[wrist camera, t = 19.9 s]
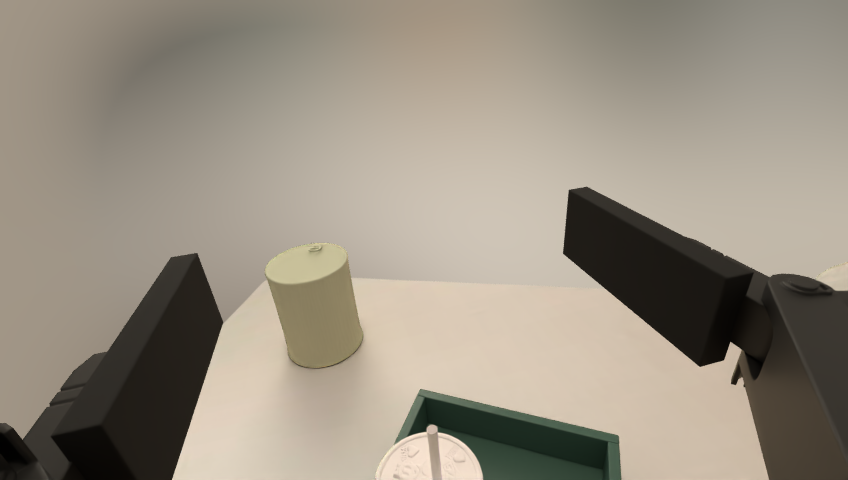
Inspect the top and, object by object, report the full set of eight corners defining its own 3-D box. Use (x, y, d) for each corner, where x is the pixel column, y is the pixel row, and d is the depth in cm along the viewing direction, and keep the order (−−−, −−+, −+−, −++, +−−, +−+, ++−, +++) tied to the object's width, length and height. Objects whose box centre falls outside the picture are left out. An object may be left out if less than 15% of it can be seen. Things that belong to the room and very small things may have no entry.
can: (369, 317, 54) (356, 237, 48) (352, 368, 45) (334, 279, 40) (303, 318, 55) (283, 239, 49) (275, 368, 47) (247, 280, 41)
